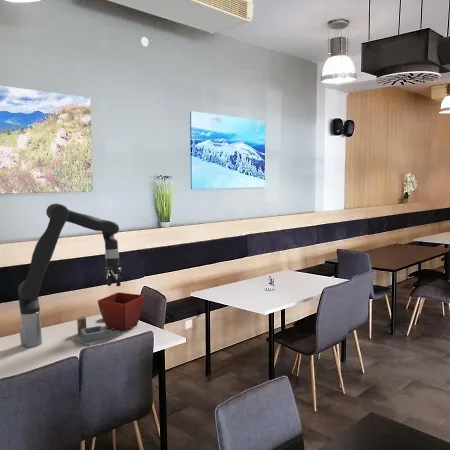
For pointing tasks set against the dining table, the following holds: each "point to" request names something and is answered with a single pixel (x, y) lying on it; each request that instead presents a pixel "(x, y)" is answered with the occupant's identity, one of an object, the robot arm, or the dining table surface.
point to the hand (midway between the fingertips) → (113, 286)
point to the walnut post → (81, 324)
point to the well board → (107, 335)
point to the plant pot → (121, 310)
